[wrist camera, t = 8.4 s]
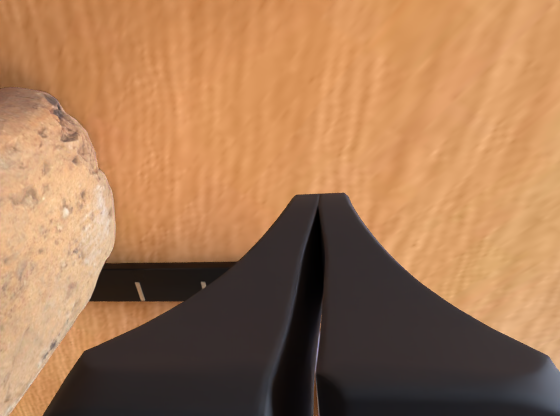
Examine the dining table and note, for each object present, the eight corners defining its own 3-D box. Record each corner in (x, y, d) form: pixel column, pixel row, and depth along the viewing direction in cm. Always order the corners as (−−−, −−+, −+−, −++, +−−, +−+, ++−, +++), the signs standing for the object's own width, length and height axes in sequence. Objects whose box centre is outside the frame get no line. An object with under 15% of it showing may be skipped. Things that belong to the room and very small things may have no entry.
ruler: (310, 294, 24) (309, 302, 24) (1, 295, 27) (-6, 302, 27) (307, 260, 23) (306, 267, 23) (-16, 264, 26) (-24, 271, 25)
